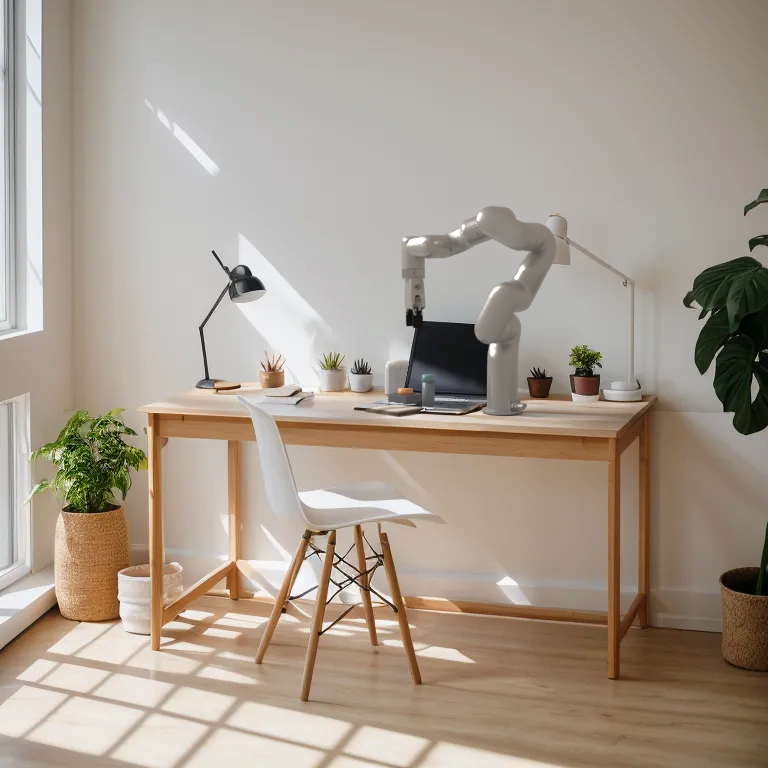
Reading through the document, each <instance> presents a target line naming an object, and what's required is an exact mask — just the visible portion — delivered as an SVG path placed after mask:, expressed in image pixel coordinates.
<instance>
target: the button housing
mask: <svg viewBox="0 0 768 768" xmlns="http://www.w3.org/2000/svg"><path fill="white" fill-rule="evenodd" d="M421 401H422V393H419V392H413V395H407V396H404V395H398V393H391V394H388V395H387V403H388V402H396V403H403V404H412V403H417V402H421Z"/></svg>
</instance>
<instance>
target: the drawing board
mask: <svg viewBox="0 0 768 768" xmlns="http://www.w3.org/2000/svg"><path fill="white" fill-rule="evenodd" d="M423 409H424V408H422V407H420V408H419V407H418V406H405V405H398V404H390V405H388V404H385V405H379V406H374V407H373V406H372V407H367V408H365V412H366V413H370V414H371V413H372V414H379V415H386V416H390V417H402V416H408V415H414V414H420V411H421V410H423ZM425 409H426V408H425Z"/></svg>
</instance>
